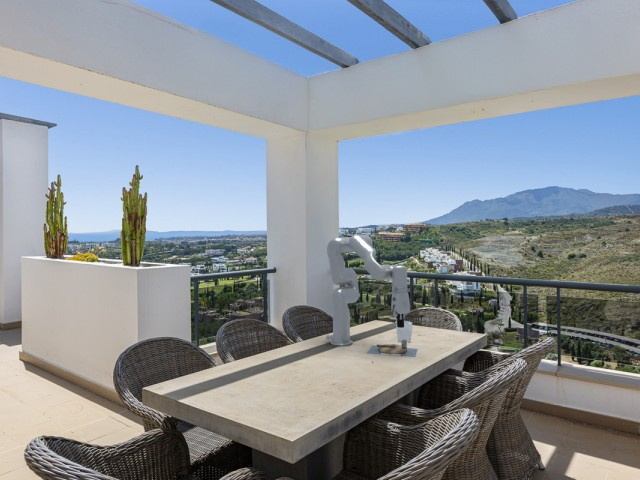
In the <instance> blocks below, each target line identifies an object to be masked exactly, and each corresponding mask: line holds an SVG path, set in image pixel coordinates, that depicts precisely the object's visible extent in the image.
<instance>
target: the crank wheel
mask: <svg viewBox="0 0 640 480" xmlns="http://www.w3.org/2000/svg"><path fill="white" fill-rule="evenodd" d="M407 343H408V342H407V340H402V342H401V344H394V343H391V344H390V343H388V344H376V346H377V347H379V351H380V352H382V353H387V354H402V353H406V352H407V348H408V344H407Z"/></svg>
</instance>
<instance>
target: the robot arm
mask: <svg viewBox="0 0 640 480" xmlns="http://www.w3.org/2000/svg"><path fill="white" fill-rule="evenodd" d="M341 253H355V254H356V255H357V256H358V257H360V259H361V260H363V264H364V265H363V266H364V268H365V270H366V271H367V273H368V274H369V275H370V276H371V277H373V278H374V279H375V280H377V281H389V280H391V291H392V292H391V305H390V306H391V307H390V308H391V313H392V316H393V317H394V318H395V319H396V322H397V327H399V328H403V327H404V321H405V319H406V315H408V314H409V313H410V311H411V303H410V296H409V292H408V269H407V266H405V265H392V264H382V265H380V264H379V263H378V262H377V261H376V260H375V257H376V255H377V250H376V249H375V248H374V247H373V240H372V237H371V236H369V235H367V234H354V235H352V236H350V237H345V236H344V237H342V236H340V237H339V236H338V237H334V238H332V239H330V240H329V242H328V243H327V246H326V254H327V257H328V261H329V269H330V277H331V282H332V284H334V285H336V286H342V287H337V288H335V289H333V290H332V292H331V294H330V297H331V300H330V301H331V305H332V334H331V335H329V334H327V335H325V338H326V340H330V341H329V343H330V344H331V345H333V346H339V347H340V346H343V347H345V346H351V345H352V344H354V343H353V340H351V320H350V319H351V317H350V316H351V313H350V309H349V306H348V304H353V303H356V302H357V301H358V300H359V298H360V290H359V282H358V275H357V273H356V271H355V270H354V269H353V268H351V267H346V264H345V260H344V256H343V255H342V254H341Z"/></svg>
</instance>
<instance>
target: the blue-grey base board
mask: <svg viewBox="0 0 640 480" xmlns="http://www.w3.org/2000/svg"><path fill="white" fill-rule="evenodd" d="M418 351H419V348H412V347H411V348H410V347H409V348H408V347H407V352H406V353H402V354H387V353H382V352H380V351H379V347H377V345H372V346H371V347H370V348H369V349H368V351H367V352H366V354H367V355H370V354H371V355H385V356H394V357H395V356H396V357H397V356H398V357H410V358H416V356H417V353H418Z"/></svg>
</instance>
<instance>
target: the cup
mask: <svg viewBox="0 0 640 480" xmlns="http://www.w3.org/2000/svg"><path fill="white" fill-rule="evenodd" d="M395 325H396V326H395V330H396V337H397V342H398V343H402V340H407V343H411V342H412V341H411V340H412V335H413V333H412V332H413V322H412V321H408V320H404V327H403V328H399V327H397V321H396V323H395Z"/></svg>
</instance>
